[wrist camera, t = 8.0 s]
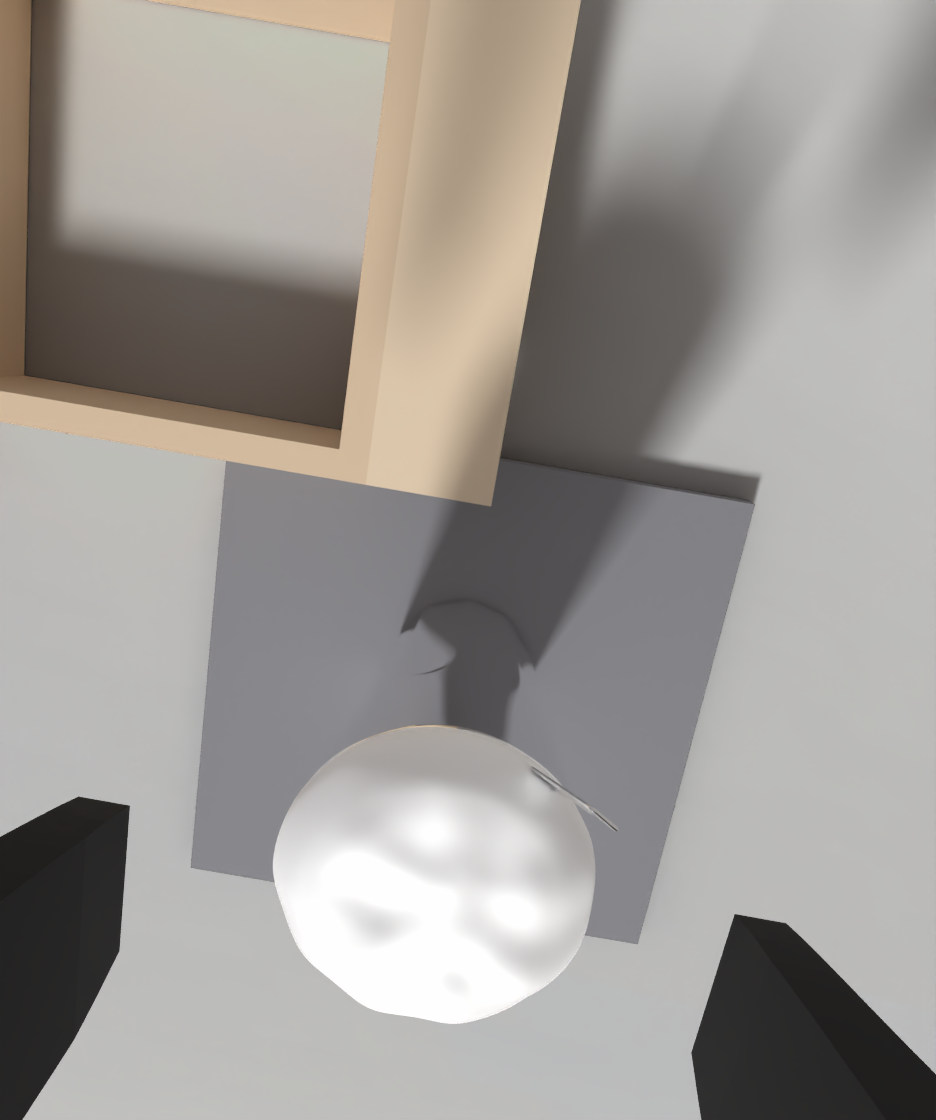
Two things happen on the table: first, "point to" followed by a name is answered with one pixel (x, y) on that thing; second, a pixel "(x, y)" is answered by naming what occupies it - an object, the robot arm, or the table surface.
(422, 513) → the mat
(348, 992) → the milkshake
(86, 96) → the table surface
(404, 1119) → the table surface
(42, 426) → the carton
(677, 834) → the table surface
